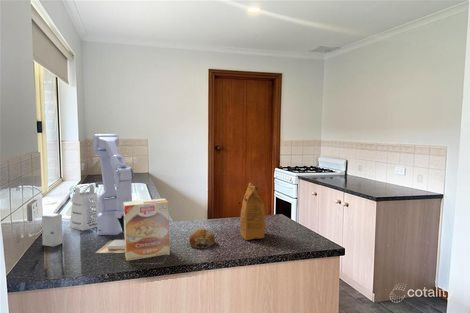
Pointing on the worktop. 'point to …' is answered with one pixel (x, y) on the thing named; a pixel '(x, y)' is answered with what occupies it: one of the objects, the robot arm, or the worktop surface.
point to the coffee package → (252, 215)
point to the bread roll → (202, 238)
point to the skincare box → (52, 229)
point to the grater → (84, 209)
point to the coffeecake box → (146, 228)
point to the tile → (117, 245)
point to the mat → (105, 250)
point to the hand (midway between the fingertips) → (125, 231)
